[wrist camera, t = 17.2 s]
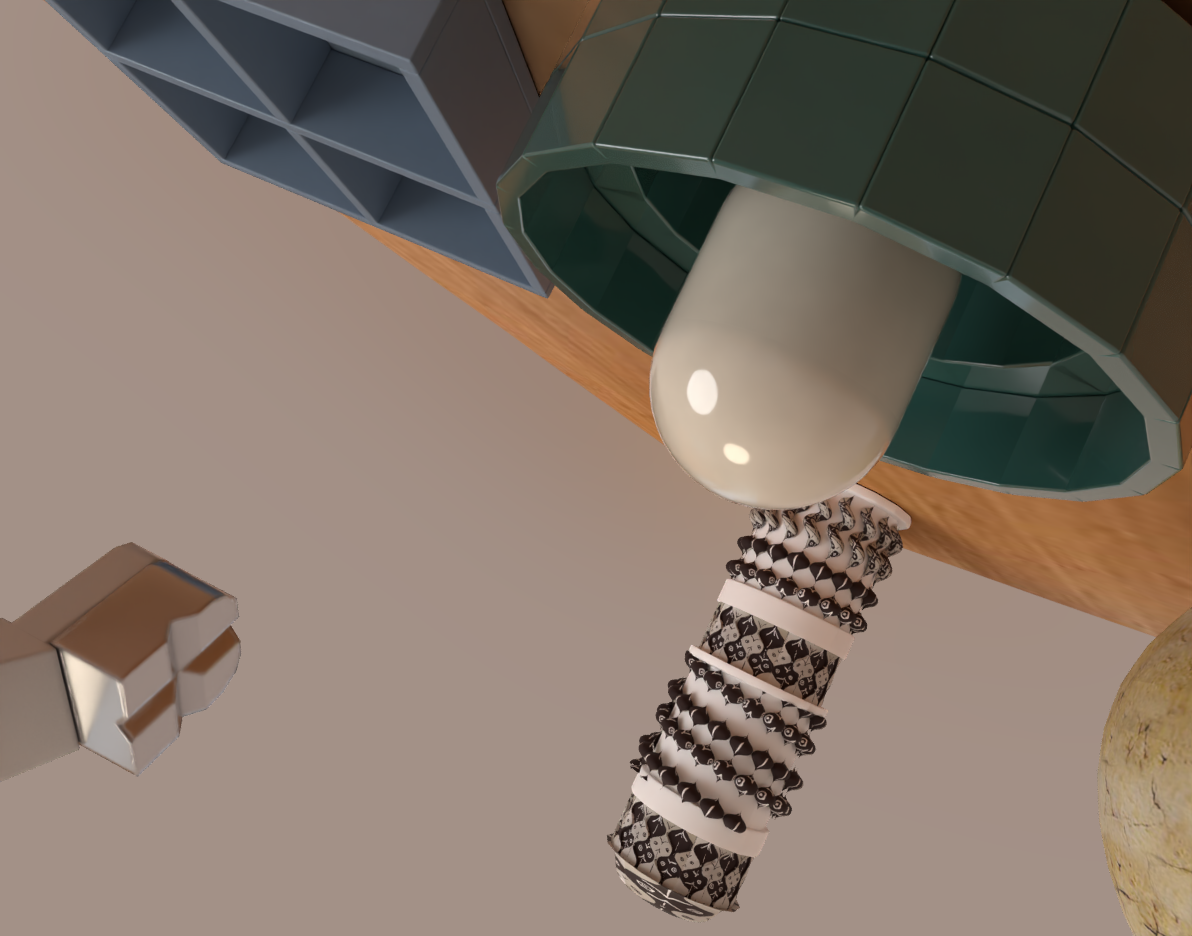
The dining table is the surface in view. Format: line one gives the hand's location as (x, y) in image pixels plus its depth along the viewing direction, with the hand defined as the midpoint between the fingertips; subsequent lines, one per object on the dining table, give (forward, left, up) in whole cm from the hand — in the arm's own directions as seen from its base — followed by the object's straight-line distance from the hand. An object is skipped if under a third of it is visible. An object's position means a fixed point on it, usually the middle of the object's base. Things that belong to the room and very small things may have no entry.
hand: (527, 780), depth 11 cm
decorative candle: (+44, -17, -13) cm, 48 cm away
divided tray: (+5, -19, -13) cm, 24 cm away
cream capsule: (+6, -3, -12) cm, 14 cm away
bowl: (+7, -3, -13) cm, 15 cm away
